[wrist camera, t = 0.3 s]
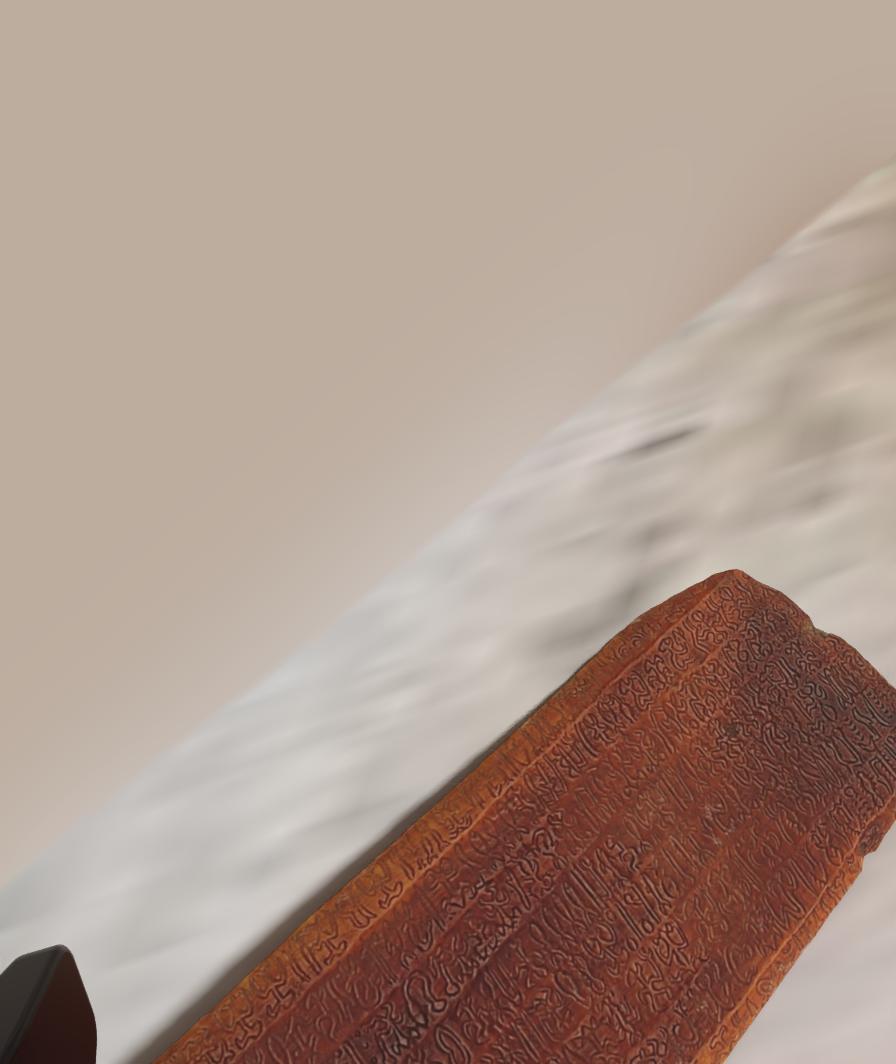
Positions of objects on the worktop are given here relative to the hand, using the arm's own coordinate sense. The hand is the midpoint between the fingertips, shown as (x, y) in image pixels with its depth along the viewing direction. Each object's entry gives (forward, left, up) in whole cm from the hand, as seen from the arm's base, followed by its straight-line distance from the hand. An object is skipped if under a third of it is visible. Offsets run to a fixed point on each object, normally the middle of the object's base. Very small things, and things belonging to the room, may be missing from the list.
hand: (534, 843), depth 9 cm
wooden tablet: (-5, 0, -16) cm, 17 cm away
